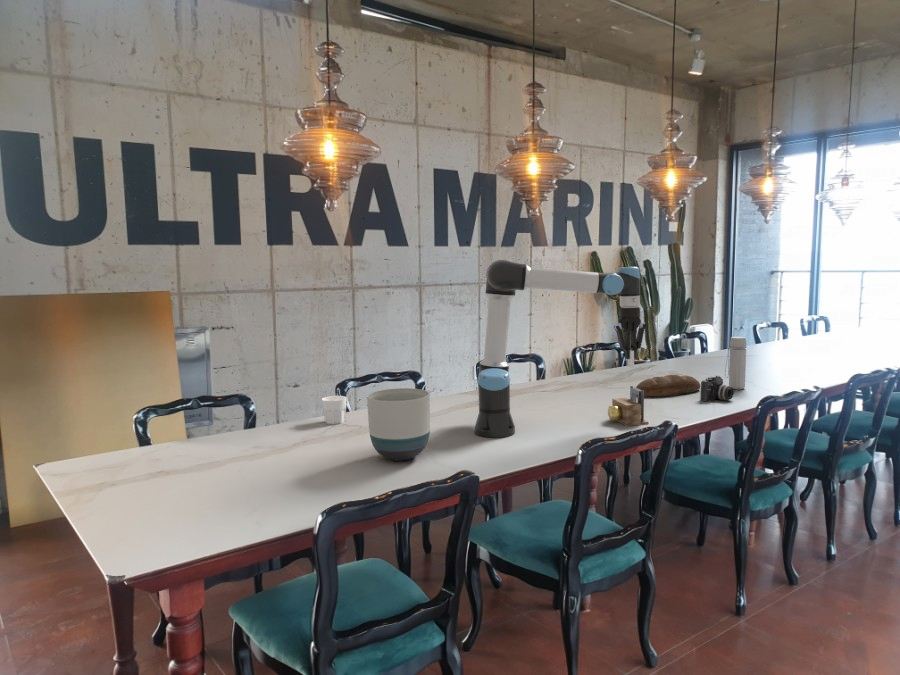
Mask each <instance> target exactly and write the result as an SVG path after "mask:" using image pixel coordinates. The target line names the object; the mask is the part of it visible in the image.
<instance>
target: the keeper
mask: <svg viewBox="0 0 900 675" xmlns="http://www.w3.org/2000/svg"><path fill="white" fill-rule="evenodd" d="M636 394H637V395H636ZM631 400H632V401H635V402H637V403H639V404H641V390H640V389H638V388H636V387H633V388H631Z"/></svg>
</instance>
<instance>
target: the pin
mask: <svg viewBox="0 0 900 675" xmlns="http://www.w3.org/2000/svg"><path fill="white" fill-rule="evenodd" d="M607 416H608V419H609V420H610V421H617V420H621V419H622V416H623V413H622V408H621V407H620V406H612V405H611V406H608V408H607Z"/></svg>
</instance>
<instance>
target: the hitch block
mask: <svg viewBox="0 0 900 675" xmlns="http://www.w3.org/2000/svg"><path fill="white" fill-rule="evenodd" d="M631 388H634V386H633V385H630V388H629V389H630V391H629V392H630V393H629V396H630V397H629V398H628V397H621V398H620V397H618V398H612V401H611V402H612V405H611V406H620V407H621V408H622V413H623V416H622V419H621V420H616V422H618V423H621V424H622V425H625V426H626V425H629V426H641V425H648V424H649V421H648V420H645V419H644V416H645V413H644V412H645V409H644V408H645V397H644V390H641V404H639V403H637V401H636V402H635V401H632V400H631Z"/></svg>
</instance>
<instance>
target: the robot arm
mask: <svg viewBox="0 0 900 675" xmlns="http://www.w3.org/2000/svg"><path fill="white" fill-rule="evenodd" d="M485 276H486V284H485V292H484V293H485V295H486V296H487V298H488V306H487V315H486V316H487V317H486V329H485V340H484V341H485V342H484V355H483V359H481V361H480V362H479V368H478V369H479V370H478V376H477V386H478V388H477V389H478V415H477V418H476V422H475V425H474V434H476V435H477V436H480V437H483V438H495V439H497V438H504V437H505V438H506V437H509V436H512V435H514V434H515V433H516V427H515V422H514V419H513V417H512V414H511V399H510V398H511V396H510V395H511V394H510V392H511V391H510V390H511V388H510V386H511V383H510V382H511V378H510V373H509V370H510V364H509V363H508V362H507V348H508V336H509V327H510V323H509V322H510V314H511V302H512V299H513V298H515V297H516V291H525V290H527V289H538V290H550V291H566V292H578V293H590V294H600V295H601V294H603V295H605V294H606V295H609V296H615V295H618V294H619V306H620V308H619V317H620V319H619V321H618V322H619V323H617V324H616V325H613V329H614V330H615V332H616V335H617V340H618V343H619V348H620V349H621V350H622V351H623V350H624V355H625V356H624V357H625V359H626V361H627V362H626V363H627V365H626V366H627V367H628V368H630V369H631V368H632V369H633V368H635V359H636V358H637V351H638V350H639V349H641V347H642V342H643V338H644V333H645V329H646V327H647V326H648V325H647V323H643V322H642V320H641V307H640V306H641V293H640V292H641V286H640V284H641V283H640V282H641V281H640V280H641V274H640V268H639V267H637V266H625V267H624V266H622V267H619V269H618V271H617V272H596V271H595V272H594V271H582V270H581V271H580V270H570V269H569V270H568V269H556V268H555V269H554V268H543V267H531V266H529V265H528V264H526V263H519V262H518V263H517V262H513V261H510V260H506V259H499V260H495V261H493V262H492V263H491V264H489V266H488V267H487V270H486V273H485ZM622 329H623V331H622ZM623 333H624V335H623Z"/></svg>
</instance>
